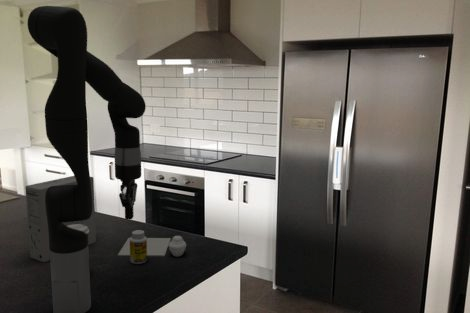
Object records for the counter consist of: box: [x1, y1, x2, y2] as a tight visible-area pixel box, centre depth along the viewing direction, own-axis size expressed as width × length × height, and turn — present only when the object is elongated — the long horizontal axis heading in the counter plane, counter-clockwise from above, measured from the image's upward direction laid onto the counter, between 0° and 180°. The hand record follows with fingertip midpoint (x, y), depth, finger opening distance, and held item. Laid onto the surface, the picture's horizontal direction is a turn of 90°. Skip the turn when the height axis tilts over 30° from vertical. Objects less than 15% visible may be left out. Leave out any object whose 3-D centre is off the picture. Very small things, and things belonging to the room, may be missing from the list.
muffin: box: [168, 235, 187, 258], centre depth 144 cm, size 6×6×7 cm
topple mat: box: [117, 237, 172, 257], centre depth 150 cm, size 16×16×1 cm
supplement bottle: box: [129, 229, 148, 265], centre depth 138 cm, size 6×6×10 cm
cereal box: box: [25, 175, 97, 263], centre depth 145 cm, size 22×8×25 cm, turn 149°
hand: (129, 218), depth 124 cm, fingers closed
